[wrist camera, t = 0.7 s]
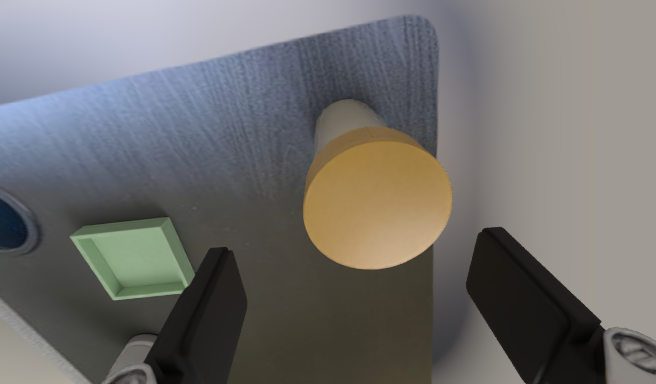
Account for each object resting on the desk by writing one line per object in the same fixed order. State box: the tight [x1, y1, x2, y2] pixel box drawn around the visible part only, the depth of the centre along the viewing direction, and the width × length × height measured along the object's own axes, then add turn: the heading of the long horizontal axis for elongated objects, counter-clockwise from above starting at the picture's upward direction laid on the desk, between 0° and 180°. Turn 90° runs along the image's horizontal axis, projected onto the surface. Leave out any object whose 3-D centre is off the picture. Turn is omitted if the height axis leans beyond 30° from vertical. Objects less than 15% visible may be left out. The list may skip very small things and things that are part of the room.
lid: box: [303, 126, 453, 269], centre depth 15 cm, size 8×8×3 cm
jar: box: [313, 99, 392, 160], centre depth 20 cm, size 7×7×14 cm
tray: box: [70, 217, 195, 300], centre depth 32 cm, size 10×10×2 cm
